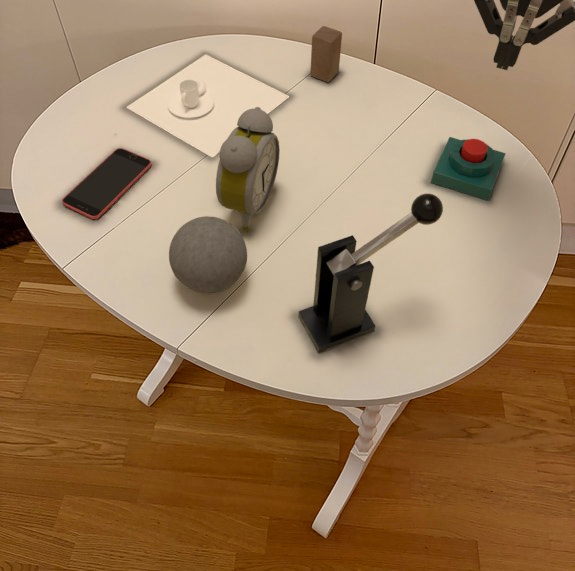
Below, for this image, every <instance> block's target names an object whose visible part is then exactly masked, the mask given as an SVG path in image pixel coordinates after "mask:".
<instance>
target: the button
mask: <svg viewBox="0 0 575 571" xmlns="http://www.w3.org/2000/svg"><path fill="white" fill-rule="evenodd" d="M465 140H466V141H465V142H464V144H463V147H462V150H461V157H462V158H463V159H464V160H465V161H468V162H471V163H480V162H482V161H483V160H484V158H485V155H486V153H487V150H488V147H487V145H488V144H487V143H486V142H484V141H483V140H481V139H478V138H469V140H467V139H465ZM485 143H486V144H487V145H486V144H485Z"/></svg>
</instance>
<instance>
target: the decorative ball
mask: <svg viewBox="0 0 575 571" xmlns="http://www.w3.org/2000/svg"><path fill="white" fill-rule="evenodd" d="M168 261H169V265H170V268H171V271H172V273H173V275H174V276H175V278H176V279H177V281H178V282H179V283H180V284H181V285H182V286H184V287H185V288H187V289H188V290H190V291H192V292H195V293H198V294H203V295H214V294H219V293H222V292H224V291H226V290H228V289H230V288H231V287H233V286H234V285H235V284H236V283H237V282H238V281H239V280H240V279H241V277H242V276H243V274H244V272H245V269H246V267H247V262H248V249H247V244H246V242H245V239H244V237H243V235H242V234H241V232H240V231H239V230H238V228H236V227H235V226H234V224H232V223H231V222H229V221H227V220H225V219H223V218H220V217H216V216H207V215H205V216H199V217H196V218H193V219H190V220H189V221H187V222H185V223H184V224H182V225H181V227H179V229H178V230H176V232H175V234H174V235H173V237H172V239H171V241H170V244H169V248H168Z"/></svg>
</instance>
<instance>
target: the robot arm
mask: <svg viewBox="0 0 575 571" xmlns="http://www.w3.org/2000/svg"><path fill="white" fill-rule="evenodd" d="M473 2H474V4H475V6H476V9H477V11H478V13H479V16H480V17H481V20H482V22H483V24H484V27H485V29H486V32H487V33H488V34H489V35H494V36H496V37H497V38H498V42H497V46H496V49H495V52H494V56H493V59H492V60H493V63H495V64H496V67H495V68H496V69H500V70H504V71H508V69H509V67H510V68H514V66H515V65H516V63H517V61H518V58H519V56H520V52H521V50H522V48H523V46H524V45H526V44H531V45H532V46H537V45H539V44H540V43H542V42H543V41H545V40H547V39H548V38H550V37H551V36H553V35H554V34H556V33H558V32H559V31H561V30H562V29H564V28H566V27H567V26H569V25H571V24H573V23H574V22H575V1H573V0H499V3H500V5H501V8H502V10H503V11H505V14H504V17H503V20H502V16H501V14H500V12H499V9H498V7H497V5H496V2H495V0H473ZM556 6H557V8H556V10H555V12H554V14H553V15H551V16H550V17H548V18H547V19H545V20H543V21H542V22H541V23H539V24H537V25H536V26H535V27H532V25H533V23H534V20H535V19H540V18H541V17H542V16H544V15H545V14H547V13H548V12H550V11H551V10H552V9H554V8H555V7H556ZM518 17H522V20H521V22H520V24H519V27H518V29H517V30H516V32H515V27H516V23H517V21H518ZM514 32H515V35H514V34H513V33H514Z"/></svg>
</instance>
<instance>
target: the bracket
mask: <svg viewBox="0 0 575 571" xmlns="http://www.w3.org/2000/svg"><path fill="white" fill-rule="evenodd" d="M356 248H357V239H356V237H355V236H354V235H349V236H346V237H343V238H340V239H338V240H335V241H331V242H329V243H326V244H323V245H320V246H318V247H317V256H316V271H315V282H314V293H313V294H314V295H313V305H311V306H309V307H306V308H304V309H301V310H298V318H299V320H300V322H301V323H302V326H303V327H304V329H305V331H306V332H307V335H308V336H309V338H310V340H311V342H312V343H313V346H314V347H315V349H316V351H317V353H322V352H324V351H327V350H330V349H332V348H334V347H337V346H340V345H342V344H345V343H348V342H350V341H352V340H355V339H357V338H360V337H363V336H365V335H368V334H370V333H372V332H375V330H376V324H375V323H374V321H373V319H372V317H371V316H370V315H369V313H368V311H367V309H366V307H367V302H368V298H369V293H370V288H371V283H372V278H373V274H374V270H375V266H374V265H373V263H372V261H371V260H367V261H363V262H361V263H360V264H359V265H356V266H353V267H350V268H348V269H345V270H342V271H339V272H336V273H334V275H333V273H332V272H331V270H330V268H329V267H328V265H327V262H328V261H329V260H331V259H332V258H334V257H335V256H337V255H338V254H339V253H341V252H342V251H344V250H345V249H347V250H348V251H349V252H350V253H351V254H352V253H354V252H355V251H356V250H357V249H356Z"/></svg>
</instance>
